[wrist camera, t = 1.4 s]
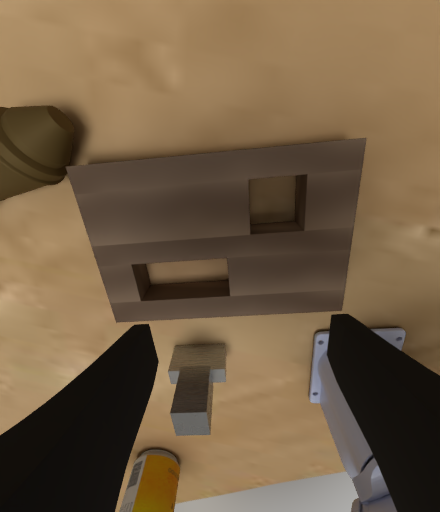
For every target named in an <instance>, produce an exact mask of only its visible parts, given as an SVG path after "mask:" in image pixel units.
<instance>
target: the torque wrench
mask: <svg viewBox="0 0 440 512" xmlns="http://www.w3.org/2000/svg"><path fill="white" fill-rule="evenodd" d="M73 136H74V127H73V124H72V123H71V121H70V120H69V119H68V118H67V116H66V115H65V114H63V113H62V112H61V111H60V110H58V109H57V108H55V107H53V106H29V107H11V108H5V107H0V201H2V200H5V199H7V198H9V197H12V196H15V195H19V194H22V193H25V192H28V191H31V190H34V189H37V188H40V187H43V186H46V185H56V184H58V183H60V182H61V181H62V180H63V179H64V176H65V175H66V174H67V169H66V167H68V166H70V162H69V161H70V159H71V152H72V144H73Z"/></svg>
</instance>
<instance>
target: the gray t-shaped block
mask: <svg viewBox="0 0 440 512" xmlns="http://www.w3.org/2000/svg"><path fill="white" fill-rule="evenodd" d="M168 373H169V377H170V381H171V384H177V385H176V390H175V394H174V399H173V403H172V408H171V412H170V414H171V418H172V422H173V425H174V429H175V433H176V436H179V435H210V431H211V415H212V399H213V382H226V349H225V343H224V344H202V345H181V346H175V348H174V351H173V355H172V359H171V362H170V366H169V370H168Z"/></svg>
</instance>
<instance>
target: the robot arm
mask: <svg viewBox="0 0 440 512" xmlns="http://www.w3.org/2000/svg"><path fill="white" fill-rule="evenodd" d="M405 335H406V332H405V331H404V330H403V329H402V328H386V329H369V328H368V327H366V326H365V325H363V324H362V323H361V322H359V321H358V320H356V319H355V318H353V317H352V316H350V315H349V314H334V315H331V323H330V331H323V332H317V333H316V334H315V337H314V348H313V359H312V370H311V380H310V391H309V399H310V402H312V403H320V404H321V407H322V410H323V412H324V415H325V418H326V421H327V423H328V426H329V429H330V431H331V434H332V437H333V439H334V442H335V445H336V448H337V450H338V453H339V456H340V458H341V461H342V463H343V466H344V468H345V470H346V471H347V473H348V475H349V476H350V478H351V479H352V480H353V483H354V486H355V488H356V491H357V494H358V496H359V498H357V499H355V500H354V502H353V503H352V508H351V512H440V376H439V375H438V374H436V373H434V372H433V371H431V370H430V369H428V368H426V367H425V366H423V365H422V364H420V363H419V362H417V361H416V360H414V359H413V358H411V357H409V356H408V355H407V354H405V353H404V352H402V351H401V349H402V346H403V342H404V339H405ZM321 340H322V341H321ZM319 341H320V342H319ZM158 362H159V361H158V357H157V354H156V350H155V346H154V342H153V338H152V334H151V330H150V326H149V324H139V325H133V326H132V327H131V328H130V329H129V330H128V331H127V332H126V333H125V334H123V335H122V336H121V337H120V338H119V339H118V340H117V341H116V342H115V343H114V344H113V345H112V346H111V347H110V348H109V349H107V350H106V351H105V352H104V353H103V354H102V355H101V356H100V357H99V358H98V359H97V360H96V361H94V362H93V363H92V364H91V365H90V366H89V367H88V368H87V369H85V370H84V371H83V372H82V373H81V374H80V375H78V376H77V377H76V378H75V379H74V380H73V381H71V382H70V383H69V384H68V385H67V386H66V387H64V388H63V389H62V390H61V391H60V392H58V393H57V394H56V395H55V396H53V397H52V398H51V399H50V400H48V401H47V402H46V403H45V404H43V405H42V406H41V407H39V408H38V409H37V410H35V411H34V412H33V413H31V414H30V415H29V416H27V417H26V418H25V419H23V420H22V421H20V422H19V423H18V424H16V425H15V426H13V427H12V428H10V429H9V430H8V431H6V432H5V433H3V434H2V435H0V512H115V509H116V505H117V501H118V497H119V493H120V489H121V485H122V481H123V478H124V474H125V470H126V466H127V463H128V460H129V457H130V453H131V450H132V447H133V445H134V442H135V439H136V436H137V433H138V430H139V427H140V424H141V421H142V418H143V416H144V413H145V410H146V407H147V404H148V401H149V398H150V395H151V392H152V389H153V385H154V381H155V376H156V372H157V367H158Z"/></svg>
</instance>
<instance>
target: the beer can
mask: <svg viewBox="0 0 440 512" xmlns="http://www.w3.org/2000/svg"><path fill="white" fill-rule="evenodd" d="M179 474H180V467H179V465H178V463H177V459H176V457H175V456H174V455H173V454H171V453H169V452H167V451H164V450H157V449H154V450H148V451H145V452H144V453H142V454H141V456H140V457H139V458H138V459H136V461H135V462H134V465H133V468H132V472H131V475H130V478H129V482H128V485H127V488H126V492H125V495H124V498H123V501H122V505H121V508H120V511H119V512H174V507H175V500H176V494H177V487H178V480H179Z"/></svg>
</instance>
